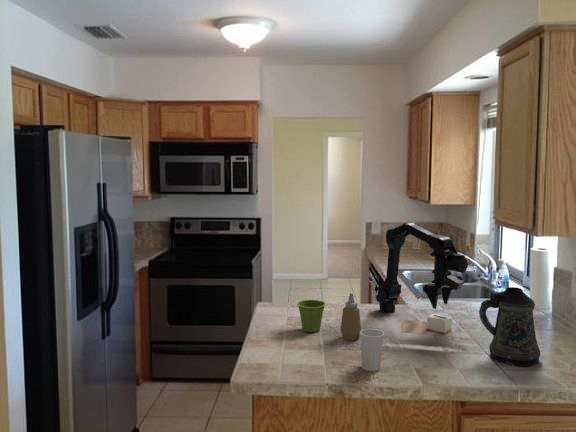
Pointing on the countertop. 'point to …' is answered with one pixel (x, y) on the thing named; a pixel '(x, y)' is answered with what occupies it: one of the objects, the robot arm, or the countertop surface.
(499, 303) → the beer stein
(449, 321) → the white slotted box
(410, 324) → the base board
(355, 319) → the squeeze bottle
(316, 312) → the plant pot
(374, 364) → the cup
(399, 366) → the countertop surface
